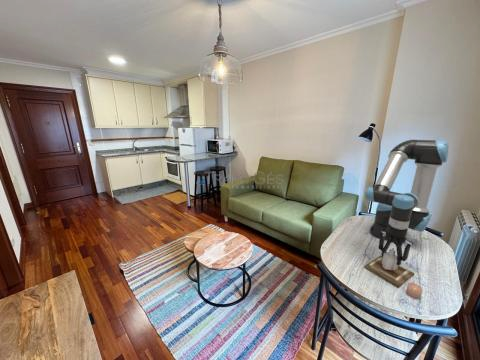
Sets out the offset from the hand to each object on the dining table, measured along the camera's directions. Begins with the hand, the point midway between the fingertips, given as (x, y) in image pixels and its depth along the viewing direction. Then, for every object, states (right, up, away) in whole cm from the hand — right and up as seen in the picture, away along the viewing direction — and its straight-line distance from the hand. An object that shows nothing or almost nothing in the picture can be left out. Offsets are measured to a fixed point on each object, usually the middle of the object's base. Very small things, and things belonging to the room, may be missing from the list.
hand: (389, 265), depth 102 cm
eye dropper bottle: (0, -2, 0) cm, 2 cm away
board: (0, -3, +1) cm, 3 cm away
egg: (+1, -7, -13) cm, 15 cm away
